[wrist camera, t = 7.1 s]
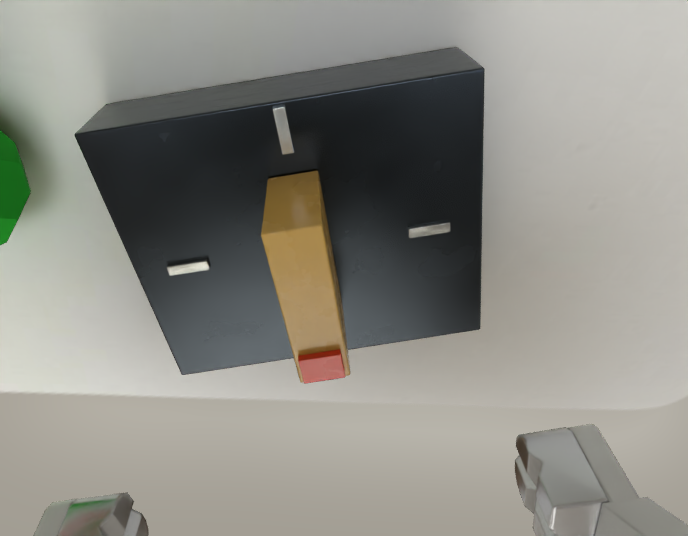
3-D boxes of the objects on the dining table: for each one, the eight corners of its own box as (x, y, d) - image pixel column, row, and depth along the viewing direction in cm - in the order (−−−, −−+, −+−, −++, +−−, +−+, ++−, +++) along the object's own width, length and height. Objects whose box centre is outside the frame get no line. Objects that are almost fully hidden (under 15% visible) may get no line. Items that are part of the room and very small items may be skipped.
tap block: (458, 46, 17) (486, 68, 15) (460, 285, 23) (481, 332, 20) (105, 103, 17) (70, 136, 15) (194, 326, 23) (180, 378, 20)
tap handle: (267, 178, 16) (259, 239, 13) (317, 169, 16) (322, 229, 13) (300, 313, 19) (300, 389, 16) (342, 306, 19) (351, 381, 16)
